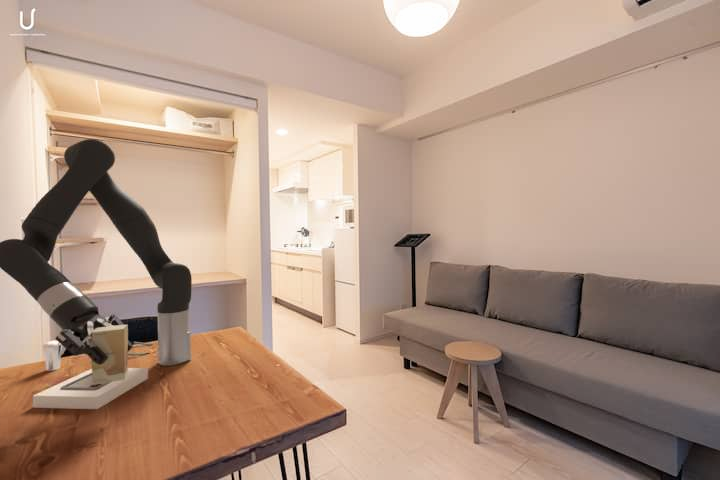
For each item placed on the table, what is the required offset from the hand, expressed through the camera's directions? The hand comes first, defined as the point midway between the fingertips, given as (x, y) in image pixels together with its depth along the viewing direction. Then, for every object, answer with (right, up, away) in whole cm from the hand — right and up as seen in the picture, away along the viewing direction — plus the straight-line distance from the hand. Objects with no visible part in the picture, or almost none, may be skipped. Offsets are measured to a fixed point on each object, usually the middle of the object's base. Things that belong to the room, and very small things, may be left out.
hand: (117, 355), depth 75 cm
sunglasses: (-28, -15, +42) cm, 53 cm away
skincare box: (-2, -6, 0) cm, 6 cm away
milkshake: (-41, -15, +28) cm, 52 cm away
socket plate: (-15, -14, +12) cm, 24 cm away
